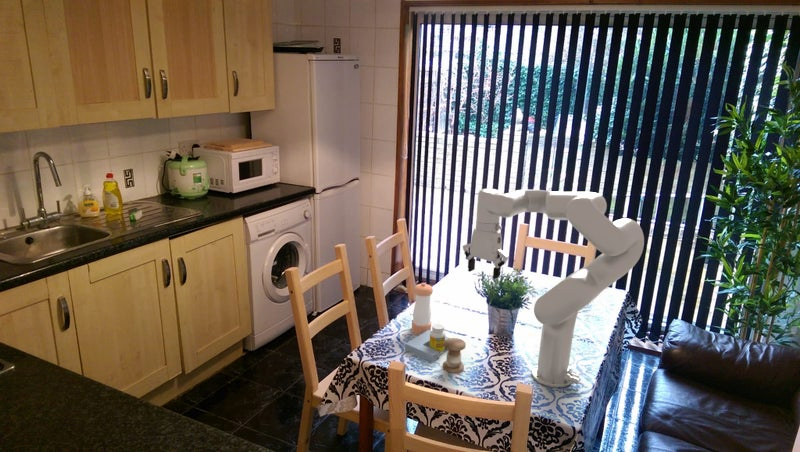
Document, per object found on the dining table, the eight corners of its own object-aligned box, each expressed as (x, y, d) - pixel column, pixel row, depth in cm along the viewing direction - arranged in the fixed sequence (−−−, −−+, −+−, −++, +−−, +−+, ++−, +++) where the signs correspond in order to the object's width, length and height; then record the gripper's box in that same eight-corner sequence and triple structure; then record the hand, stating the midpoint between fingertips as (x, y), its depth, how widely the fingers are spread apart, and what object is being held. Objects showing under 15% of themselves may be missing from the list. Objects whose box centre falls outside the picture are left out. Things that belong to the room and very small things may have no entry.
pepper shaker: (429, 336, 199) (432, 288, 193) (409, 333, 200) (412, 285, 195) (432, 327, 206) (434, 280, 200) (413, 324, 207) (415, 278, 202)
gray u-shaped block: (455, 346, 192) (456, 340, 191) (432, 362, 181) (432, 355, 181) (428, 335, 199) (428, 329, 198) (404, 349, 189) (405, 343, 188)
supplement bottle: (438, 345, 192) (439, 321, 189) (447, 352, 188) (449, 327, 185) (426, 349, 189) (427, 324, 187) (435, 356, 185) (436, 331, 182)
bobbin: (467, 367, 179) (469, 342, 177) (456, 375, 174) (457, 350, 171) (450, 359, 183) (452, 335, 181) (438, 367, 178) (440, 343, 176)
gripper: (516, 229, 177) (511, 277, 182) (471, 218, 187) (467, 265, 192) (505, 234, 171) (500, 284, 176) (459, 223, 181) (456, 270, 186)
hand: (483, 274), depth 184 cm, fingers open, 9 cm apart
